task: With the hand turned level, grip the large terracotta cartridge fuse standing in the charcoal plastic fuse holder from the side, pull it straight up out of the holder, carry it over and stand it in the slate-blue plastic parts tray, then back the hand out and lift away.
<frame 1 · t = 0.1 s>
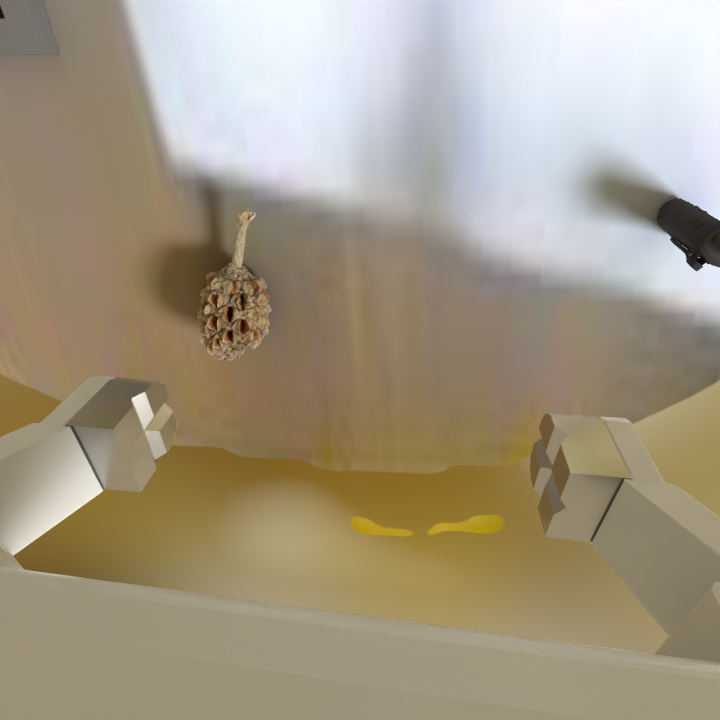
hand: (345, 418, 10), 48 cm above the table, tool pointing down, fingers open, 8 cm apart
pine cone: (248, 271, 62), on the table
two-way radio: (671, 221, 51), on the table
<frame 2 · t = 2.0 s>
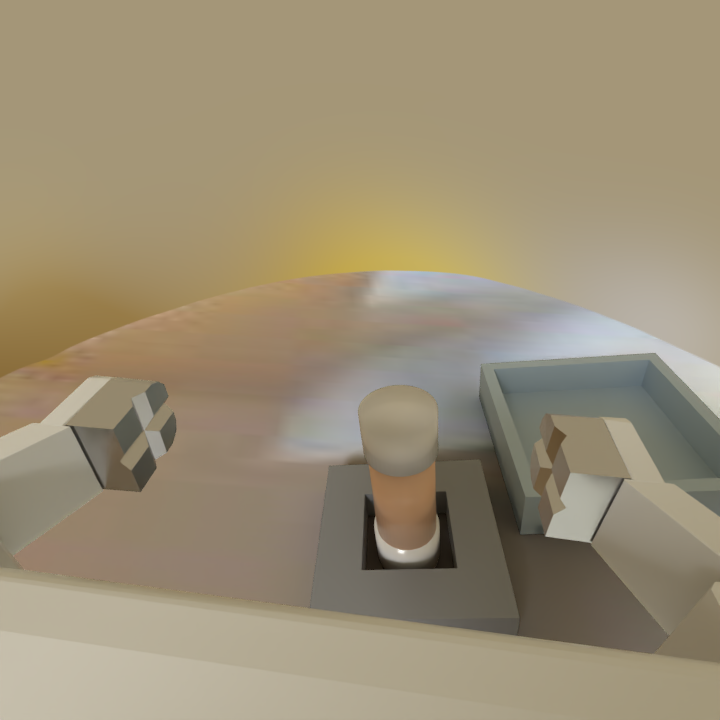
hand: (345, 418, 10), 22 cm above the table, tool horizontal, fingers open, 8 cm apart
fuse holder: (408, 549, 31), on the table
parts tray: (592, 449, 37), on the table
cartridge fuse: (403, 488, 28), in the fuse holder
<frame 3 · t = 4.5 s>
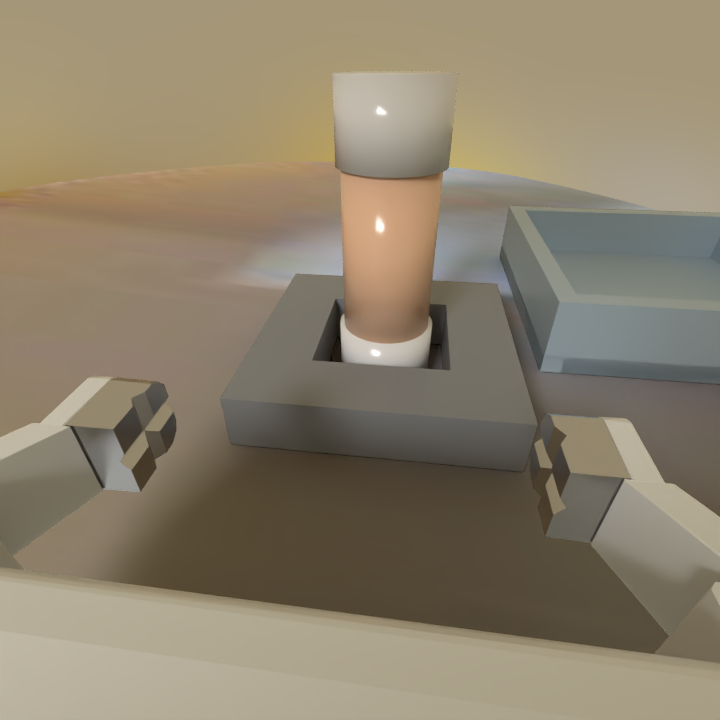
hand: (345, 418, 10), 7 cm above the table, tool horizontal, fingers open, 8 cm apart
fuse holder: (384, 371, 23), on the table
parts tray: (642, 307, 28), on the table
cartridge fuse: (388, 251, 19), in the fuse holder
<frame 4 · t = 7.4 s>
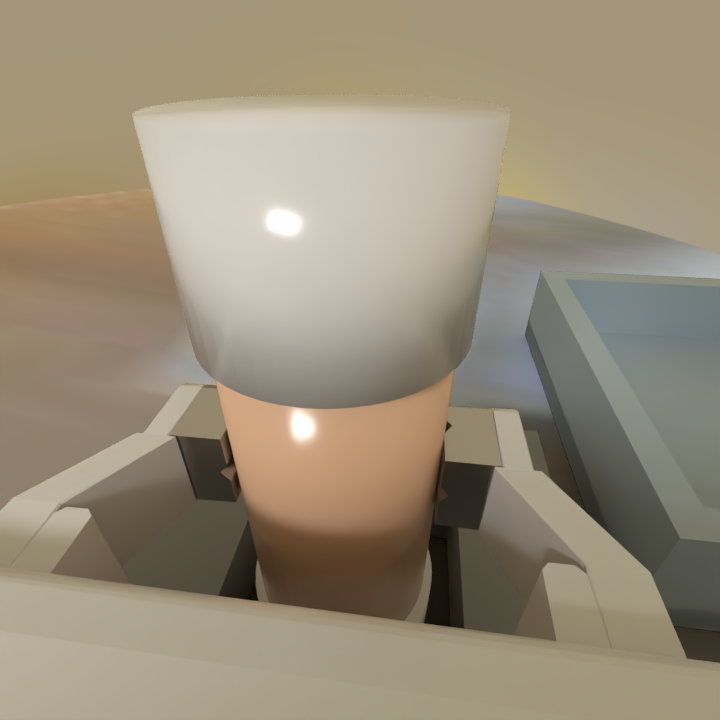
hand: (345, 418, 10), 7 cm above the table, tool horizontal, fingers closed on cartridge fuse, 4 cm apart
fuse holder: (346, 619, 13), on the table
cartridge fuse: (340, 466, 9), in the fuse holder, touching gripper
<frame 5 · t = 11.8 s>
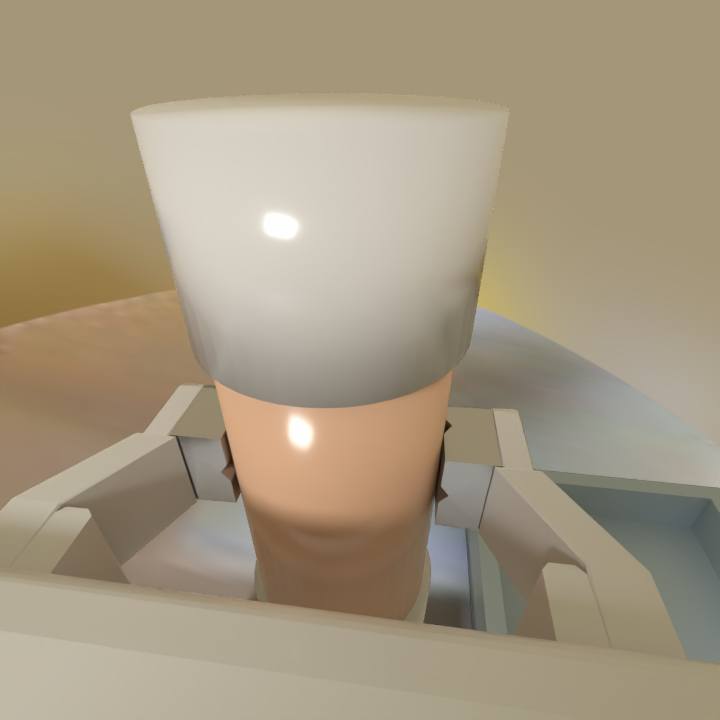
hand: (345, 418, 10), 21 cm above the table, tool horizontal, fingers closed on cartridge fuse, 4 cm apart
parts tray: (611, 628, 26), on the table
cartridge fuse: (339, 466, 9), point 20 cm above the table, touching gripper
when the fingers open (9 cm above the table, at t = 16.1 s): cartridge fuse drops 1 cm, resting on parts tray.
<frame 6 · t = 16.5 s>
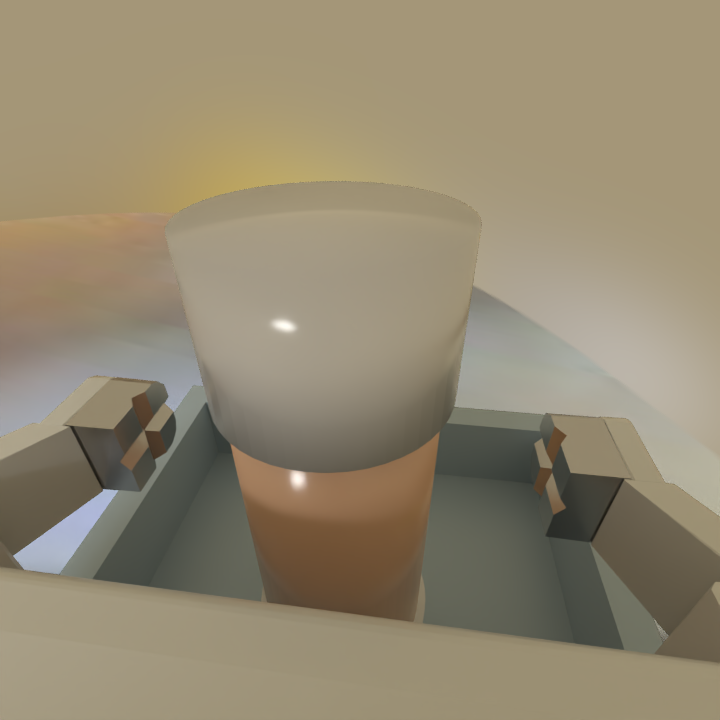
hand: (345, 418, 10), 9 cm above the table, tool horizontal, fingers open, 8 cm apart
parts tray: (347, 654, 14), on the table
cartridge fuse: (339, 504, 10), in the parts tray, point 8 cm above the table
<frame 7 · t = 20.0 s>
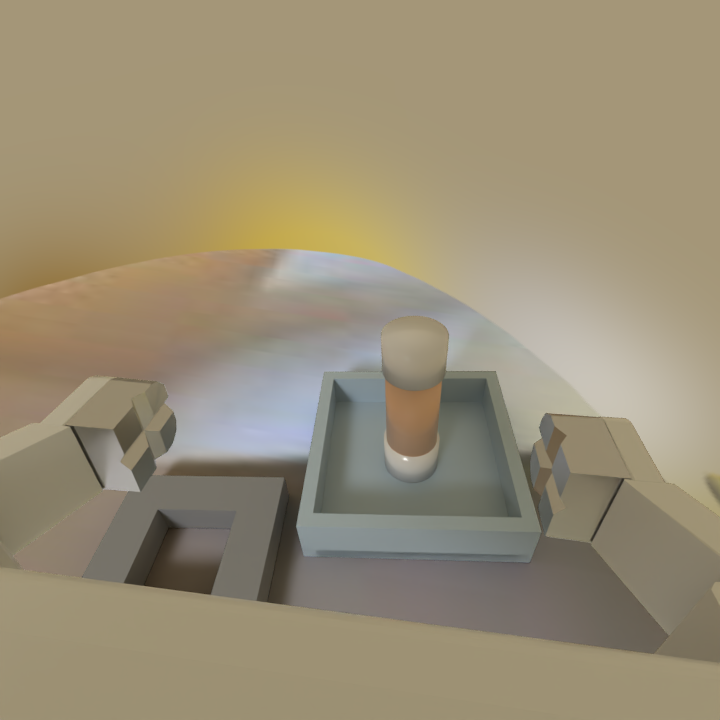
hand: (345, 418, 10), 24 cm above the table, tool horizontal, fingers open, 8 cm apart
fuse holder: (192, 566, 32), on the table
parts tray: (410, 467, 38), on the table
cartridge fuse: (412, 405, 33), in the parts tray, point 8 cm above the table
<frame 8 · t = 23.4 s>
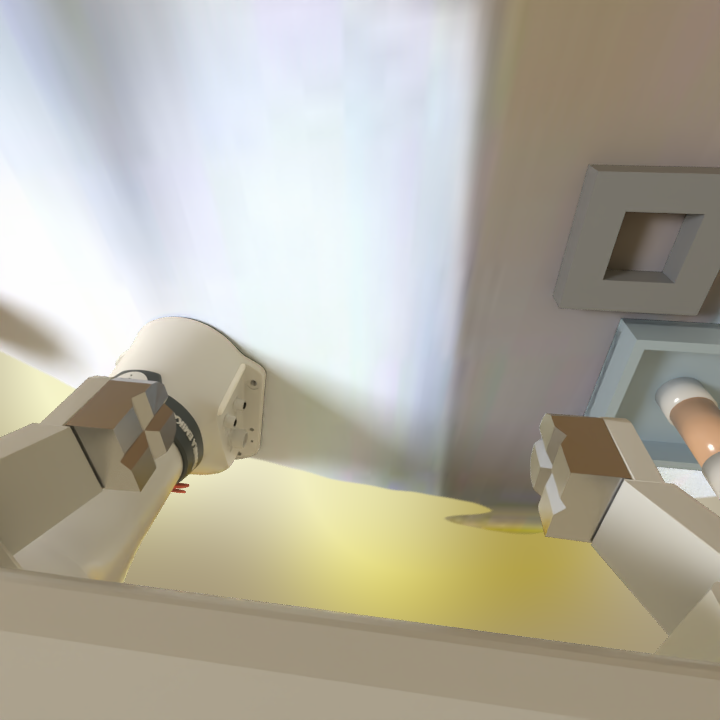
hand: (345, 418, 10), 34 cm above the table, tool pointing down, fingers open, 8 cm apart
fuse holder: (639, 238, 39), on the table
parts tray: (674, 387, 47), on the table
cartridge fuse: (710, 437, 41), in the parts tray, point 8 cm above the table
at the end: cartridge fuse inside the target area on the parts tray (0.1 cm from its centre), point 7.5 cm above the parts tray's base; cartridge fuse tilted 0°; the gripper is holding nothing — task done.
